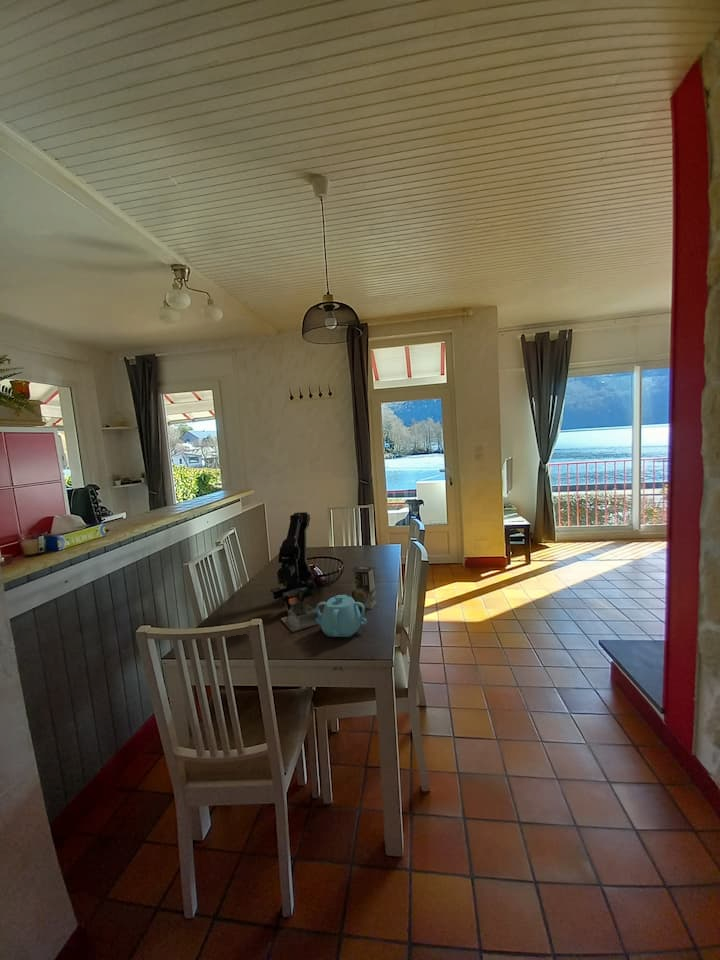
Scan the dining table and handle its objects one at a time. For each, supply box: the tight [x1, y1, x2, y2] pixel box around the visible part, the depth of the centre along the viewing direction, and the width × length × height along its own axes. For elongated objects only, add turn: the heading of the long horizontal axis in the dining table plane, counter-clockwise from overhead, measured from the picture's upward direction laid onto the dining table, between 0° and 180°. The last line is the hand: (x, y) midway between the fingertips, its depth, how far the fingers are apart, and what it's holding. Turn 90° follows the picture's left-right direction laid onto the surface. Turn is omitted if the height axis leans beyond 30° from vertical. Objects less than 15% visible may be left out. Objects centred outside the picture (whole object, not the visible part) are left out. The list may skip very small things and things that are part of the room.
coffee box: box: [349, 566, 377, 610], centre depth 167 cm, size 9×6×16 cm
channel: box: [280, 604, 322, 633], centre depth 156 cm, size 15×13×5 cm
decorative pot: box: [315, 594, 368, 638], centre depth 145 cm, size 16×16×14 cm
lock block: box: [285, 596, 304, 615], centre depth 166 cm, size 5×7×4 cm
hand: (294, 608), depth 166 cm, fingers closed on lock block, 5 cm apart
